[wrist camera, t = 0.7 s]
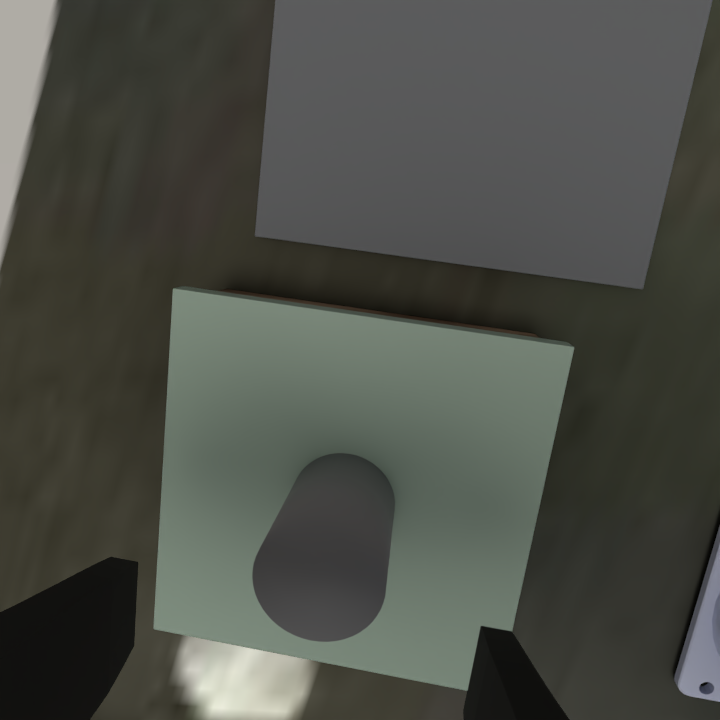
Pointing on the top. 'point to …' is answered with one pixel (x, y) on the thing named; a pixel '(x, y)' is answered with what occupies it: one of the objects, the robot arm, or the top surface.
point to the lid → (350, 481)
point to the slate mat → (479, 129)
